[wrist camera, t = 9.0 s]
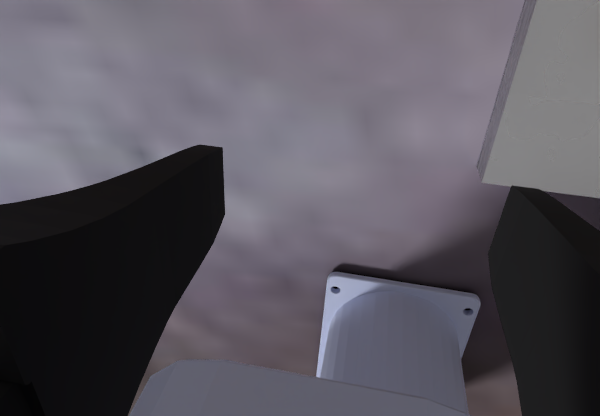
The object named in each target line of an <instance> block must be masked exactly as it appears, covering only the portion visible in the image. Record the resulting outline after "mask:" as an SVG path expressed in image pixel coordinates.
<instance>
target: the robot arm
mask: <svg viewBox="0 0 600 416" xmlns="http://www.w3.org/2000/svg"><path fill="white" fill-rule="evenodd" d="M224 215H225V201H224V175H223V149H222V147H214V146H207V145H197V146H193V147H190V148H187V149H185V150H182V151H179V152H177V153H175V154H172V155H170V156H167V157H165V158H163V159H160V160H158V161H155V162H153V163H151V164H148V165H146V166H143V167H141V168H138V169H136V170H133V171H130V172H128V173H125V174H122V175H120V176H117V177H114V178H112V179H109V180H106V181H103V182H100V183H97V184H93V185H90V186H87V187H83V188H79V189H76V190H72V191H68V192H64V193H60V194H56V195H51V196H46V197H41V198H36V199H31V200H26V201H21V202H15V203H9V204H2V205H0V416H128V413H129V410H130V408H131V405H132V403H133V400H134V398H135V395H136V393H137V390H138V387H139V385H140V383H141V380H142V378H143V376H144V373H145V371H146V369H147V366H148V364H149V362H150V359H151V357H152V354H153V352H154V350H155V348H156V345H157V343H158V341H159V339H160V337H161V335H162V332H163V330H164V328H165V326H166V324H167V321H168V319H169V317H170V316H171V314H172V312H173V310H174V308H175V306H176V305H177V303H178V301H179V300H180V298H181V296H182V295H183V293H184V291H185V290H186V288H187V286H188V285H189V283H190V281H191V280H192V278H193V276H194V275H195V273H196V272H197V270H198V268H199V267H200V265H201V263H202V262H203V260H204V258H205V256H206V255H207V253H208V251H209V250H210V248H211V246H212V244H213V243H214V240H215V238H216V235H217V233H218V231H219V228H220V226H221V223H222V221H223V218H224ZM488 256H489V267H490V276H491V284H492V290H493V294H494V298H495V301H496V305H497V309H498V312H499V316H500V320H501V323H502V327H503V330H504V334H505V338H506V341H507V345H508V348H509V352H510V356H511V359H512V363H513V367H514V371H515V376H516V380H517V385H518V392H519V398H520V405H521V411H522V416H600V231H599V230H597V229H596V228H594V227H593V226H592V225H590V224H589V223H587V222H586V221H585V220H583V219H582V218H581V217H579V216H578V215H577V214H575V213H574V212H572V211H571V210H570V209H568V208H567V207H566V206H564V205H563V204H561V203H560V202H559V201H557V200H556V199H554V198H553V197H551V196H550V195H548V194H547V193H545V192H543V191H542V190H540V189H536V188H528V187H520V186H513V185H512V186H511V189H510V192H509V195H508V197H507V200H506V203H505V206H504V209H503V212H502V215H501V218H500V221H499V224H498V226H497V229H496V232H495V235H494V238H493V241H492V244H491V247H490V250H489V253H488ZM333 286H336V287H339V289H335V288H333ZM480 305H481V303H480V299H479V297H478V296H477V295H476V294H473V293H467V292H461V291H455V290H449V289H442V288H436V287H430V286H424V285H417V284H411V283H405V282H399V281H392V280H386V279H380V278H373V277H367V276H361V275H355V274H348V273H342V272H332V273H330V274H329V276H328V279H327V287H326V296H325V305H324V313H323V322H322V331H321V340H320V349H319V358H318V366H317V375H316V377H314V376H309V375H303V374H298V373H293V372H288V371H282V370H277V369H272V368H266V367H261V366H256V365H251V364H245V363H240V362H235V361H229V360H209V359H186V360H178V361H176V362H175V363H173V364H171V365H169V366H168V367H166V368H164V369H162V370H160V371H159V372H157V373H155V374H153V375H151V376H150V378H149V380H148V382H147V384H146V386H145V387H144V389H143V391H142V393H141V395H140V397H139V398H138V400H137V402H136V404H135V406H134V408H133V409H132V411H131V413H130V415H129V416H471V415H469V413H468V406H467V399H466V391H465V384H464V377H463V370H462V363H461V358H462V356H463V353H464V350H465V347H466V344H467V342H468V339H469V336H470V333H471V331H472V328H473V325H474V322H475V320H476V317H477V314H478V311H479V308H480ZM466 308H470V309H471V310H464V309H466Z"/></svg>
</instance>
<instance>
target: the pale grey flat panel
mask: <svg viewBox="0 0 600 416" xmlns="http://www.w3.org/2000/svg"><path fill="white" fill-rule="evenodd" d="M477 170H478V173H479V176H480V179H481V182H482V183H486V184H494V185H502V186H509V187H511V186H512V185H513V186H520V187H528V188H536V189H540V190H542V191H548V192H555V193H563V194H570V195H578V196H586V197H593V198H600V0H525V2H524V6H523V9H522V13H521V16H520V20H519V23H518V26H517V30H516V33H515V37H514V40H513V44H512V47H511V51H510V54H509V57H508V61H507V64H506V68H505V71H504V75H503V78H502V81H501V85H500V88H499V92H498V95H497V99H496V102H495V106H494V109H493V112H492V116H491V119H490V123H489V126H488V130H487V133H486V136H485V140H484V143H483V147H482V150H481V154H480V157H479V161H478V164H477Z"/></svg>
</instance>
